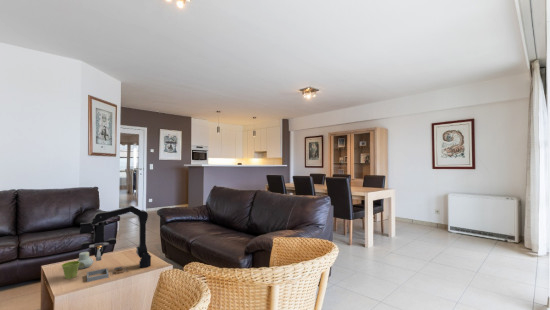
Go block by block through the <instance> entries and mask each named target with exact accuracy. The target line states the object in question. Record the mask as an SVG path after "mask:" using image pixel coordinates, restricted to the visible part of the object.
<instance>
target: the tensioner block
mask: <svg viewBox="0 0 550 310" xmlns="http://www.w3.org/2000/svg"><path fill="white" fill-rule="evenodd" d="M128 272H129V270H128V267H127V266H124V267H123V266H117V267H115V268H114V269H109V273H110V274H109V275H110V276H111V277H112V276H116V275H120V274H126V273H128Z"/></svg>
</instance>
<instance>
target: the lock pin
mask: <svg viewBox="0 0 550 310" xmlns="http://www.w3.org/2000/svg"><path fill="white" fill-rule="evenodd" d="M102 247H103V244H99V245H95V251H96V257H95V261H96V262H98V261H99V262H100V261H101V260H102V256H101V254H102Z"/></svg>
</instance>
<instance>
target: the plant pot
mask: <svg viewBox="0 0 550 310" xmlns="http://www.w3.org/2000/svg"><path fill="white" fill-rule="evenodd" d="M79 263H80V261H77V260H71V261H68V262H65V263H63V264H61V267H62V269H63V275H64V276H63V277H64V279H66V280H70V279H71V280H72V279H74V278H76V277H77V276H78V271H79V268H78V266H79Z"/></svg>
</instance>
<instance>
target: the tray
mask: <svg viewBox="0 0 550 310" xmlns="http://www.w3.org/2000/svg"><path fill="white" fill-rule="evenodd" d="M108 270H109V269H108V267H107V268H101V269H96V270H91V271H87V272H86V283H90V282H93V281H94V282H95V281H98V280H103V279H107V278H109V275H110V274H109V273H110V272H109V271H108ZM104 273H105V274H104Z"/></svg>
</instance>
